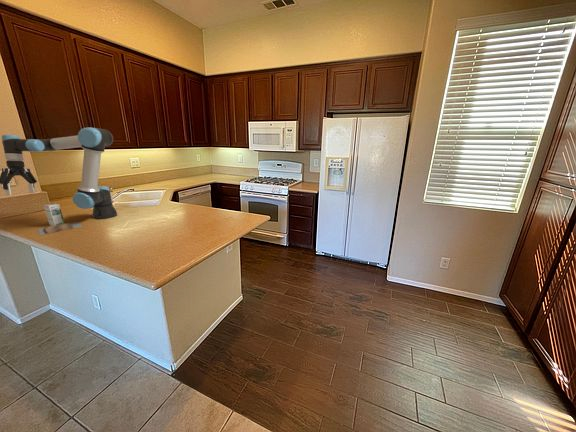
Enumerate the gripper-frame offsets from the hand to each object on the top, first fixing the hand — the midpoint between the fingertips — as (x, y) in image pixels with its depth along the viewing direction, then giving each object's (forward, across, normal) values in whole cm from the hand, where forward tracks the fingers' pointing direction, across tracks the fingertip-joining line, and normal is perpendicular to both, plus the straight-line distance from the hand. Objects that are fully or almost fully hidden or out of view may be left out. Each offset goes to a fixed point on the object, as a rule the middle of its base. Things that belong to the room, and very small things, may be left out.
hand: (20, 194), depth 154 cm
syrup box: (+21, -3, +18) cm, 28 cm away
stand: (+21, +5, +27) cm, 35 cm away
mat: (+22, +4, +26) cm, 34 cm away
